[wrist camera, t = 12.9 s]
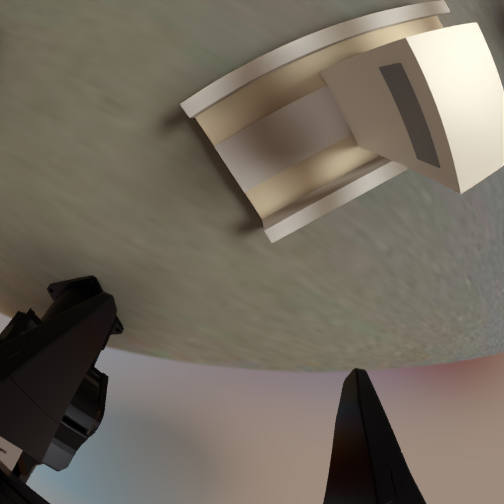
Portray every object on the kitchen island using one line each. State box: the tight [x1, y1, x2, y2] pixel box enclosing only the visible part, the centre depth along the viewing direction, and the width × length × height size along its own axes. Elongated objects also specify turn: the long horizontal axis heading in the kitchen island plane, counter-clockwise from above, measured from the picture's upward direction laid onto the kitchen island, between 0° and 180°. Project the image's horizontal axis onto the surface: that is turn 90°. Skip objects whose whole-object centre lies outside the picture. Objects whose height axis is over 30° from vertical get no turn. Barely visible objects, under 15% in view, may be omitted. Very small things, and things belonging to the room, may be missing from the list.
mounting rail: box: [180, 0, 450, 243], centre depth 15 cm, size 20×10×3 cm, turn 121°
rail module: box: [319, 22, 504, 194], centre depth 10 cm, size 4×6×10 cm
